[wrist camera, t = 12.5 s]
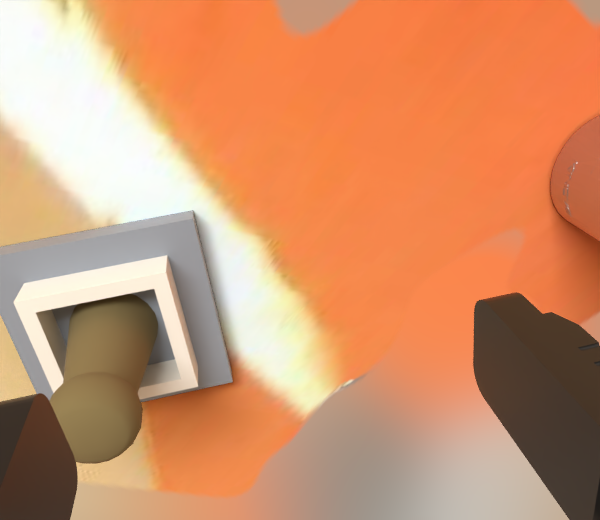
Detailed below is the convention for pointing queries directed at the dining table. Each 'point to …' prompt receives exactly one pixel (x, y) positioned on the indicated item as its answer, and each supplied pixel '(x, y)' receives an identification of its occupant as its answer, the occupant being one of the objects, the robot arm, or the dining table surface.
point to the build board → (114, 282)
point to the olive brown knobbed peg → (104, 376)
